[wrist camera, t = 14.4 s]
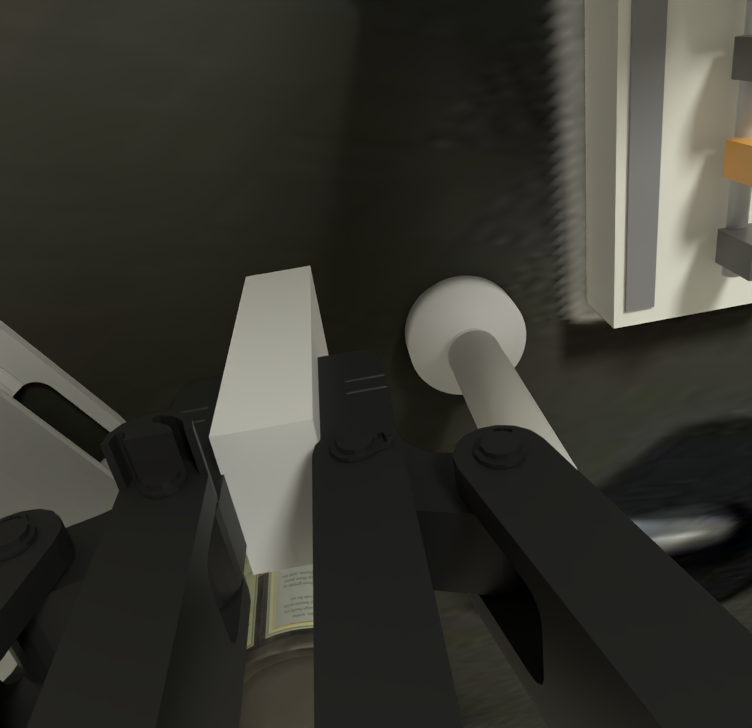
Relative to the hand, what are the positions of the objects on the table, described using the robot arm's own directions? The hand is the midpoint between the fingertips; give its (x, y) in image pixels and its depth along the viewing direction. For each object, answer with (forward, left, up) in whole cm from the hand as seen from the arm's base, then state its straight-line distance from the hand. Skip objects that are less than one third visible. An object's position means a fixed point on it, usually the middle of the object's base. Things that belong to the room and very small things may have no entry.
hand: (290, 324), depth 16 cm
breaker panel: (-10, +19, -22) cm, 31 cm away
